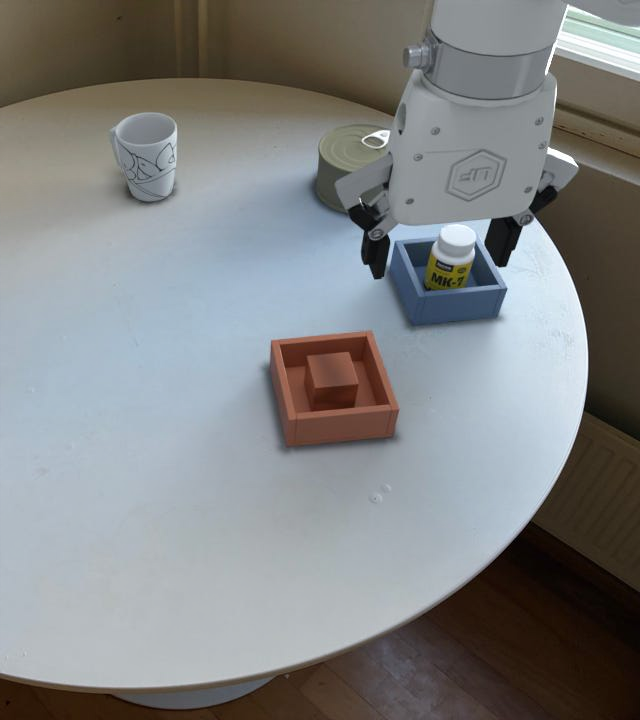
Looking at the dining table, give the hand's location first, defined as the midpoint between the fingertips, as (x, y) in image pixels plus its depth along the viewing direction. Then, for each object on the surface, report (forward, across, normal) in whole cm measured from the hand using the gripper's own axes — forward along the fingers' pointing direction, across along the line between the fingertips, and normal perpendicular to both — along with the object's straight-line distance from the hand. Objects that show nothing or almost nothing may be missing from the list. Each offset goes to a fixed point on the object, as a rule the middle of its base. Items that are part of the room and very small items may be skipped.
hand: (434, 262), depth 61 cm
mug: (+24, -23, +49) cm, 59 cm away
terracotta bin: (+24, -5, +6) cm, 26 cm away
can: (+24, +7, +43) cm, 50 cm away
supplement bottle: (+24, +12, +21) cm, 34 cm away
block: (+24, -5, +6) cm, 25 cm away
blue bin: (+24, +12, +21) cm, 34 cm away
